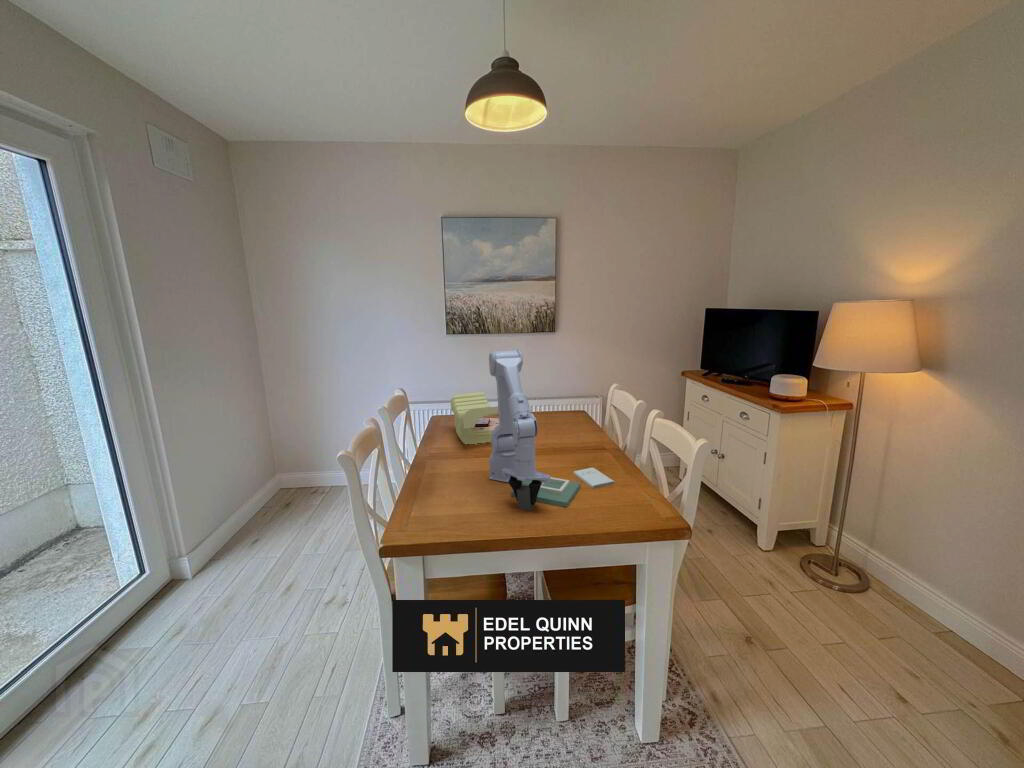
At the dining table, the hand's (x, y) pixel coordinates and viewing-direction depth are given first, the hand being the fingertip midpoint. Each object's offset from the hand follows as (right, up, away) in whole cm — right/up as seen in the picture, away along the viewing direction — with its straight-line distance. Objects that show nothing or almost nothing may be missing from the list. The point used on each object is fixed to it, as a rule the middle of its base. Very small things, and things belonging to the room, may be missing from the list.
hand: (526, 502), depth 118 cm
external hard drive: (+23, +2, +17) cm, 29 cm away
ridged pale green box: (-20, +10, +61) cm, 65 cm away
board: (+7, +1, +9) cm, 11 cm away
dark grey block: (0, -1, 0) cm, 1 cm away
